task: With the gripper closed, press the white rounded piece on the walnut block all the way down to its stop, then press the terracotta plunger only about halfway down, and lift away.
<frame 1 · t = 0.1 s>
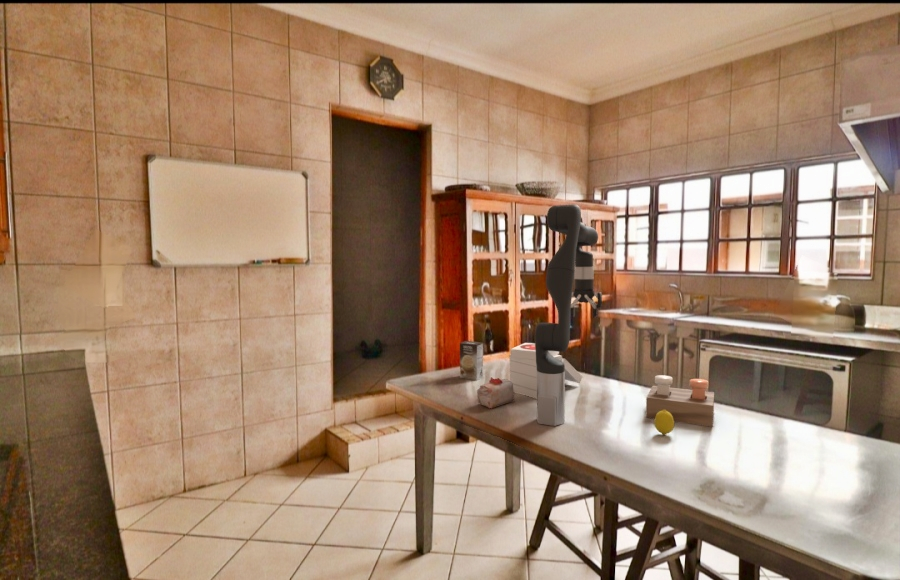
hand: (583, 317, 205), 29 cm above the table, tool pointing down, fingers open, 8 cm apart
food item: (495, 404, 188), on the table
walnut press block: (680, 414, 172), on the table
pizza boxes: (544, 389, 206), on the table
lemon: (664, 435, 154), on the table
terracotta plunger: (698, 393, 168), point 8 cm above the table, slide at 0.0 cm
coffee box: (471, 378, 226), on the table
white rounded piece: (663, 389, 174), point 8 cm above the table, slide at 0.0 cm
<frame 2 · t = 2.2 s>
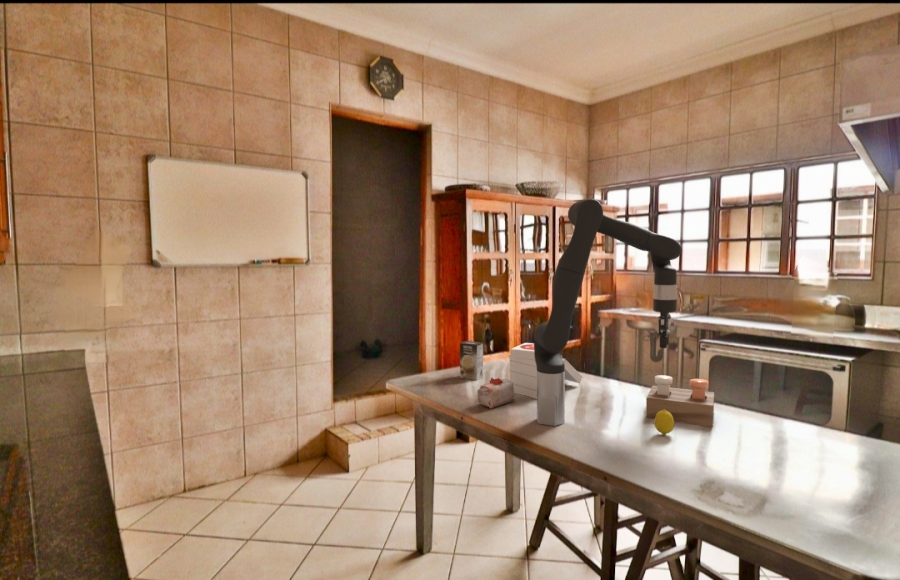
hand: (664, 346, 172), 24 cm above the table, tool pointing down, fingers open, 5 cm apart
nothing on the table moved.
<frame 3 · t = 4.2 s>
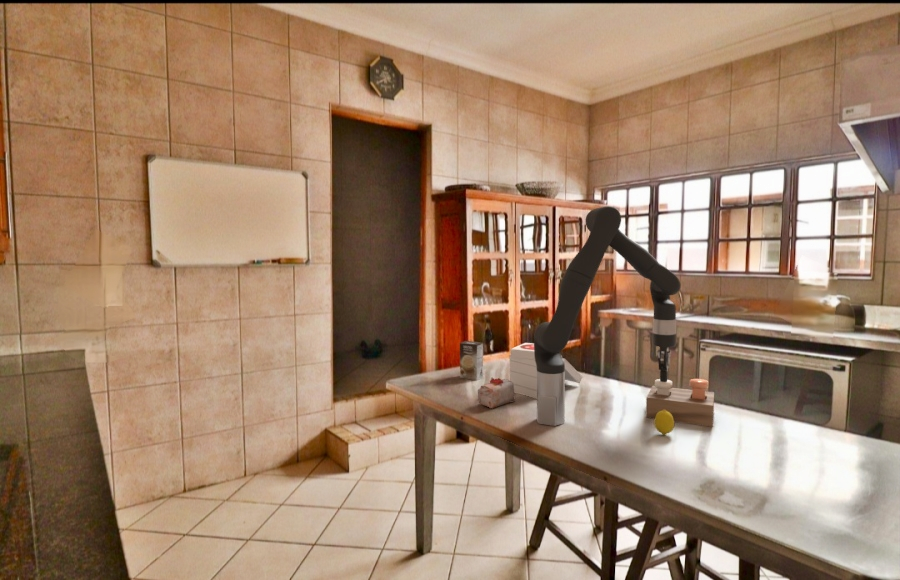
hand: (663, 381, 173), 11 cm above the table, tool pointing down, fingers closed
white rounded piece: (663, 393, 174), point 7 cm above the table, slide at 1.4 cm, touching gripper
everything else where it was.
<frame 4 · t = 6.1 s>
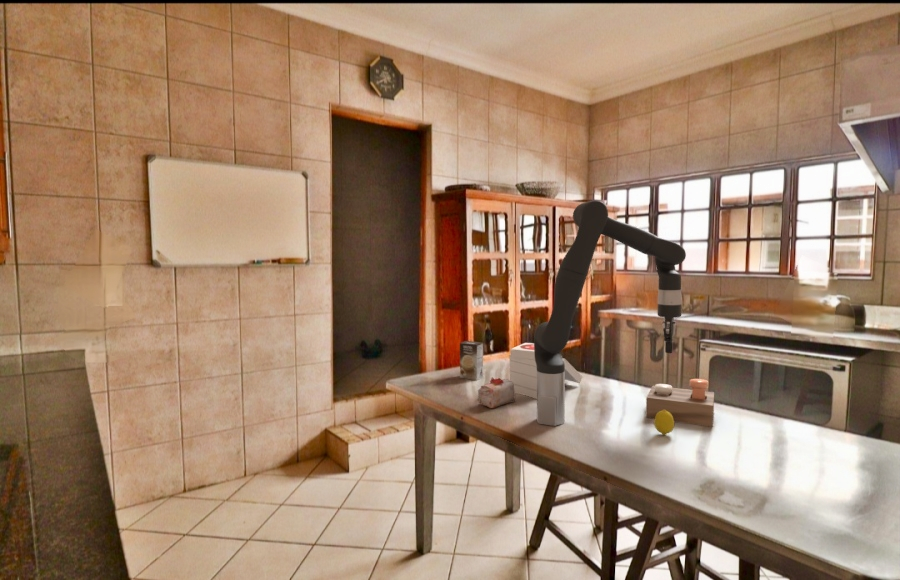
hand: (668, 352, 172), 21 cm above the table, tool pointing down, fingers closed
white rounded piece: (663, 398, 174), point 5 cm above the table, slide at 3.1 cm
everything else where it was.
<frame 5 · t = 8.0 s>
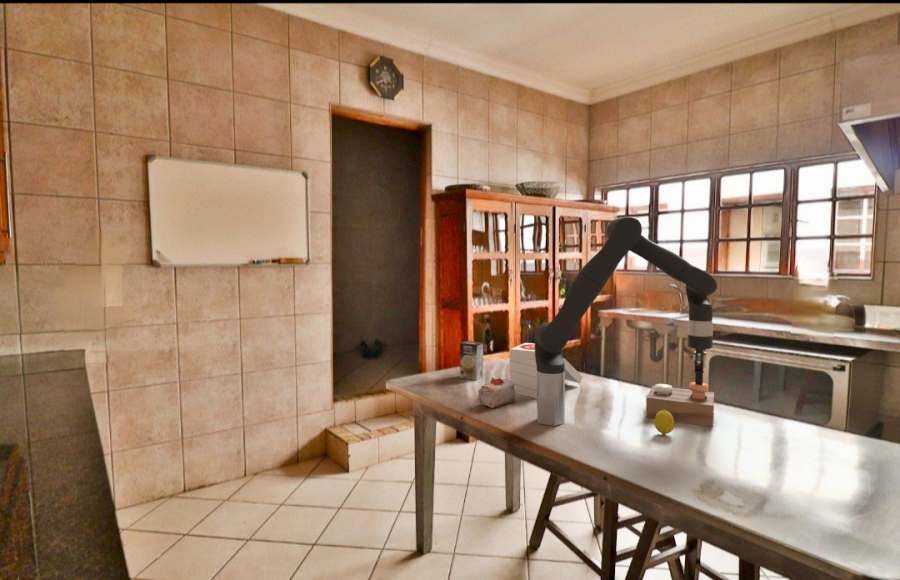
hand: (699, 384, 168), 11 cm above the table, tool pointing down, fingers closed
terracotta plunger: (698, 396, 168), point 7 cm above the table, slide at 1.1 cm, touching gripper
everything else where it was.
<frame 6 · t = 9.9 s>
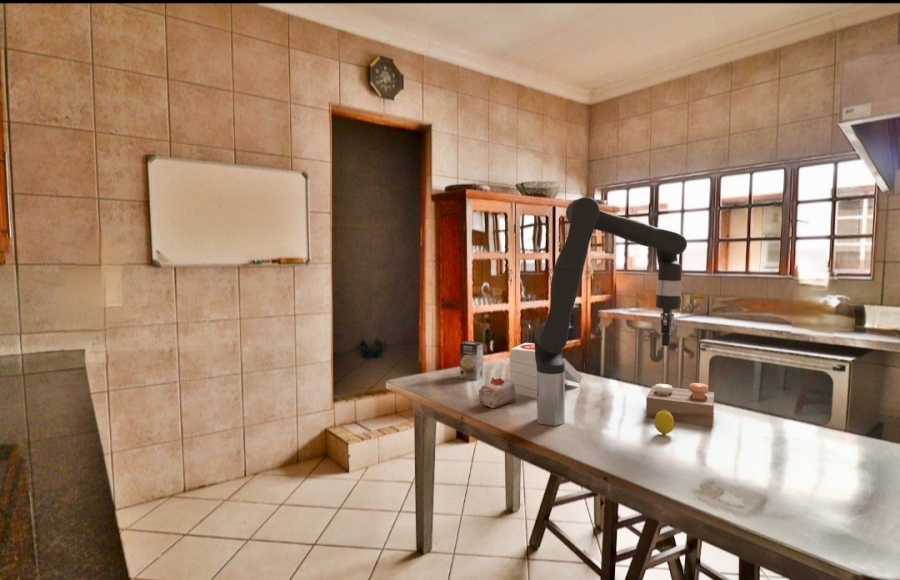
hand: (665, 345, 167), 25 cm above the table, tool pointing down, fingers closed
terracotta plunger: (698, 397, 169), point 7 cm above the table, slide at 1.5 cm
everything else where it was.
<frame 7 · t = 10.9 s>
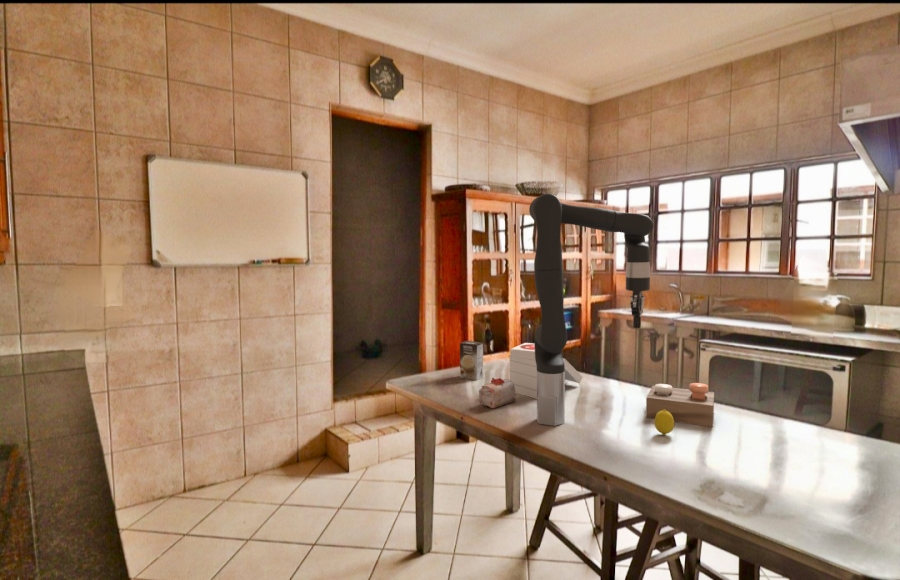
hand: (637, 327, 167), 31 cm above the table, tool pointing down, fingers closed
nothing on the table moved.
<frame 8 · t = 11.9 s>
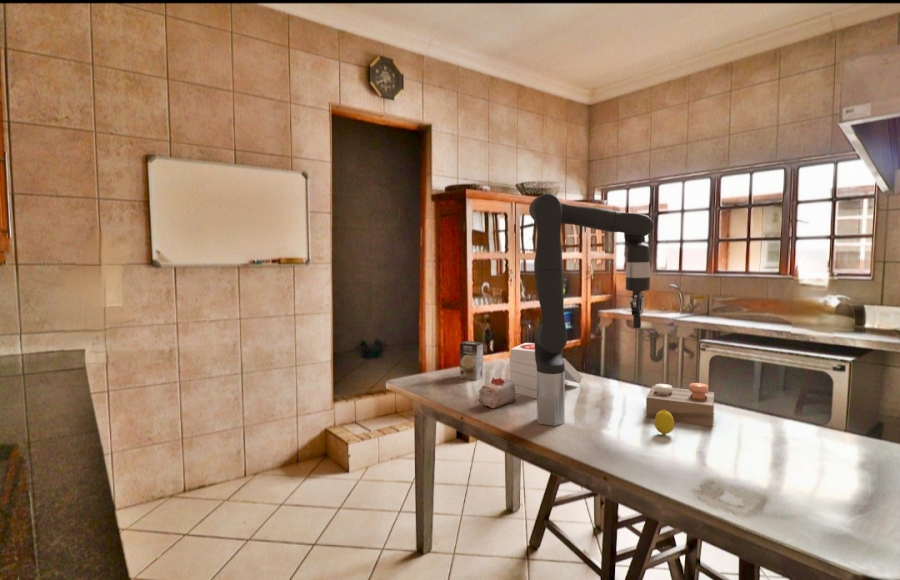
hand: (637, 327, 167), 31 cm above the table, tool pointing down, fingers closed
nothing on the table moved.
at the end: white rounded piece slide at 3.1 cm; terracotta plunger slide at 1.5 cm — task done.
